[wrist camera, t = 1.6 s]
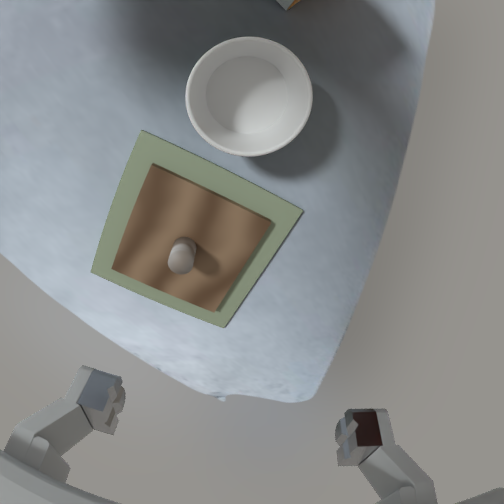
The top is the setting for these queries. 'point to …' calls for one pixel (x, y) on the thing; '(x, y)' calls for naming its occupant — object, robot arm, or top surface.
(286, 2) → the small box
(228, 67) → the food container
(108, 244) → the olive mat
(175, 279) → the walnut lid
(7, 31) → the top surface
